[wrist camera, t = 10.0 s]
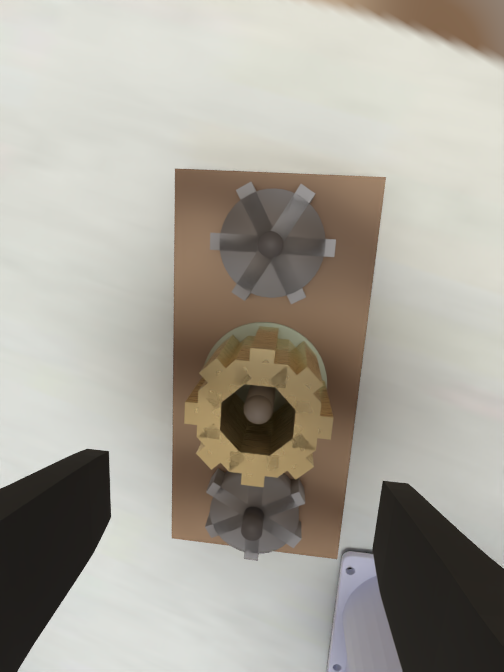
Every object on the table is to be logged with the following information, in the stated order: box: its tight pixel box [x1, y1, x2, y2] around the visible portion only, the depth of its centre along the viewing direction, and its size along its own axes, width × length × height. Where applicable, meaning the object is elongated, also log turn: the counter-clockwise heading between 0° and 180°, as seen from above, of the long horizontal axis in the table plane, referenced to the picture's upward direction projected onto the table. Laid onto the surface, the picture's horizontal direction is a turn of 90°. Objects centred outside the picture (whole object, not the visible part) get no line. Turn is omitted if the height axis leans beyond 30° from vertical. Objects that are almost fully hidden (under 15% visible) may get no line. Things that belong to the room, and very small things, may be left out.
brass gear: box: [184, 326, 334, 487], centre depth 16 cm, size 6×6×4 cm
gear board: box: [172, 169, 386, 561], centre depth 17 cm, size 19×9×5 cm, turn 177°
